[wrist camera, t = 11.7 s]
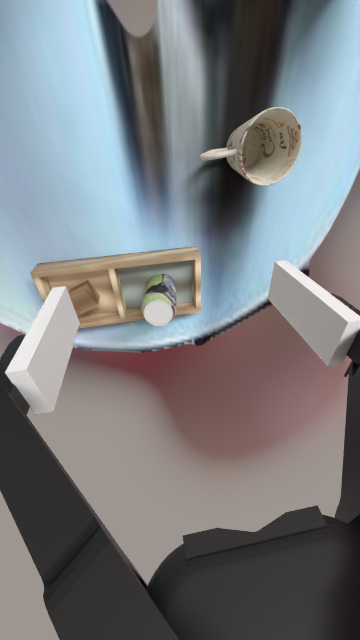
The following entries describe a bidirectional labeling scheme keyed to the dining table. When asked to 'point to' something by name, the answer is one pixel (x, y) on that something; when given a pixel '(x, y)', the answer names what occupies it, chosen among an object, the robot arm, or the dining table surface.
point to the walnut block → (84, 297)
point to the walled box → (125, 282)
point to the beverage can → (159, 300)
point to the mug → (263, 146)
